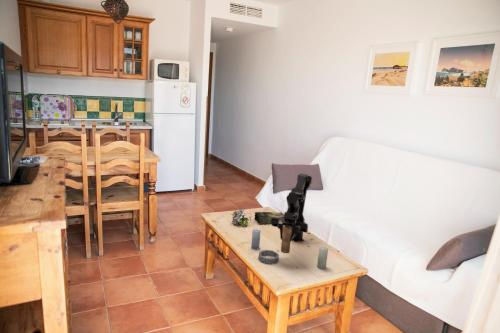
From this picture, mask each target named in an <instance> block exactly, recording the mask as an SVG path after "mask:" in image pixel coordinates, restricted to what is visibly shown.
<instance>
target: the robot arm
mask: <svg viewBox="0 0 500 333" xmlns="http://www.w3.org/2000/svg"><path fill="white" fill-rule="evenodd" d="M296 178H297V179H296V183H295V184H296V185H295V187H293V188H291V190H290V192H289V193H288V194H287V196H286V203H287V211H284V213H283V214H284V220H285V221H284V222H283V221H280V219H279V218H275V217H273V218H272V219H271V224H270V225H271V226H272V227H274V228H277V229H279V233H280V234H279V235H280V240H281V241H282V233H283V226H291V227H292V232H291V238H290V243H292V242H294V243H296V242H297V243H298V242H303V241H305V240H304V238H303V237H304V233H305V234H306V233H307V234H308V230H309V224H308V223H306V221H305V220H306V219H305V216H304V211H305V204H306V200H307V199H306V198H307V192H308V190H309V189H310V188H311V185H312V184H313V176H311V175H308V174H307V173H299V174H297V177H296Z"/></svg>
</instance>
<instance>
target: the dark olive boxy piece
mask: <svg viewBox="0 0 500 333" xmlns="http://www.w3.org/2000/svg"><path fill="white" fill-rule="evenodd" d="M273 217H275V218H279V219H280V221H283V222H284V221H285V220H284V213H283V212H282V211H256V212H254V220H255V219H258V220H257V222H258V223H257V224H258V225H272V224H271V219H272V218H273Z"/></svg>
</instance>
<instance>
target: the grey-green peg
mask: <svg viewBox="0 0 500 333" xmlns="http://www.w3.org/2000/svg"><path fill="white" fill-rule="evenodd" d="M328 254H329V248H327V247H326V246H320V247H319V248H318V254H317V255H318V256H317V264H316V267H317V268H318V269H319V270H325V269H327V260H328Z"/></svg>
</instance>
